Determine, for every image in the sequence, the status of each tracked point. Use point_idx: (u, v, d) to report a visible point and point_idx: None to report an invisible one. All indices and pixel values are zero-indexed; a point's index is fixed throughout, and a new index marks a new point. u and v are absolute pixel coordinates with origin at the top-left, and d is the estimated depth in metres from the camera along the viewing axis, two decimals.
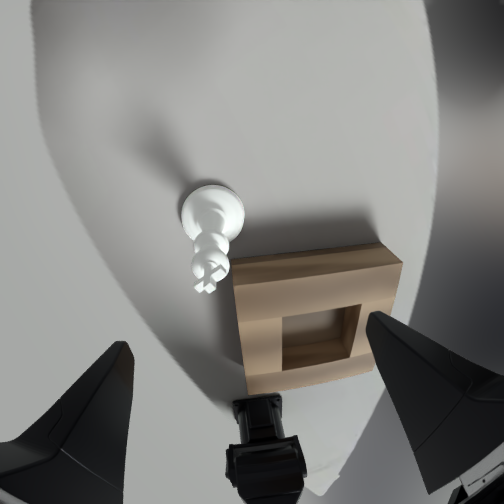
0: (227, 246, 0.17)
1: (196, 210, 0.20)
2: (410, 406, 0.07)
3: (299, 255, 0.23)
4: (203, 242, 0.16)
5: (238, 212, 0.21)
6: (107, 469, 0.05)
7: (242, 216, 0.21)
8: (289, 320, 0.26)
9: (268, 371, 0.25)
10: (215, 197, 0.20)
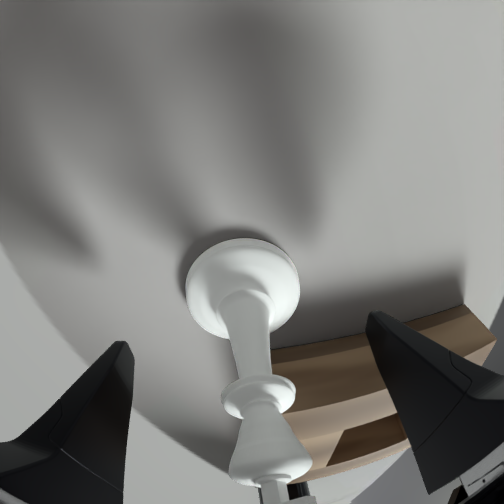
0: (293, 397, 0.07)
1: (215, 290, 0.11)
2: (410, 406, 0.07)
3: None
4: (245, 400, 0.07)
5: (292, 289, 0.11)
6: (107, 469, 0.05)
7: (297, 295, 0.12)
8: None
9: (309, 469, 0.15)
10: (252, 266, 0.11)
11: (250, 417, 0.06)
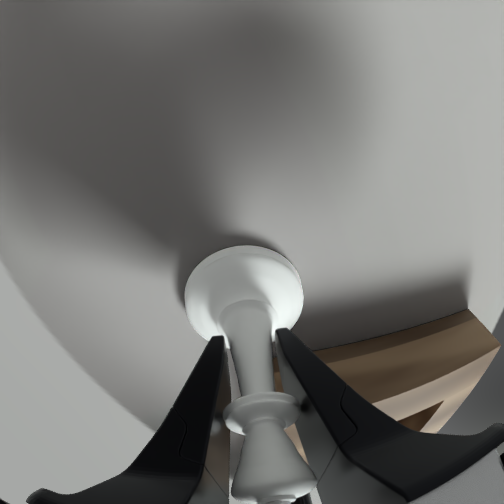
0: (297, 414, 0.07)
1: (216, 299, 0.10)
2: (306, 438, 0.07)
3: (376, 347, 0.13)
4: (247, 418, 0.06)
5: (295, 298, 0.11)
6: (224, 476, 0.06)
7: (301, 303, 0.11)
8: None
9: None
10: (254, 275, 0.10)
11: (253, 436, 0.06)
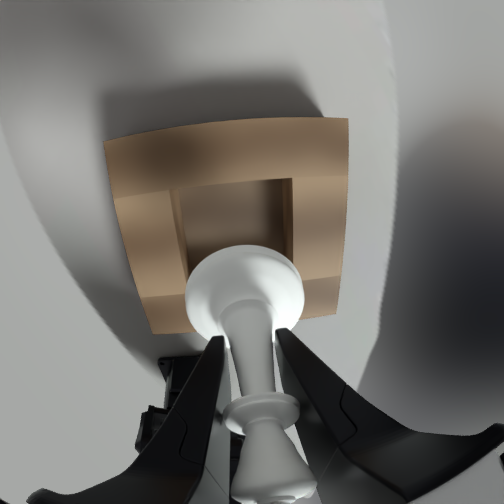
0: (298, 414, 0.07)
1: (216, 299, 0.10)
2: (305, 438, 0.07)
3: None
4: (247, 418, 0.06)
5: (296, 298, 0.11)
6: (224, 476, 0.06)
7: (302, 303, 0.11)
8: (201, 220, 0.19)
9: (169, 292, 0.18)
10: (254, 274, 0.10)
11: (253, 437, 0.06)
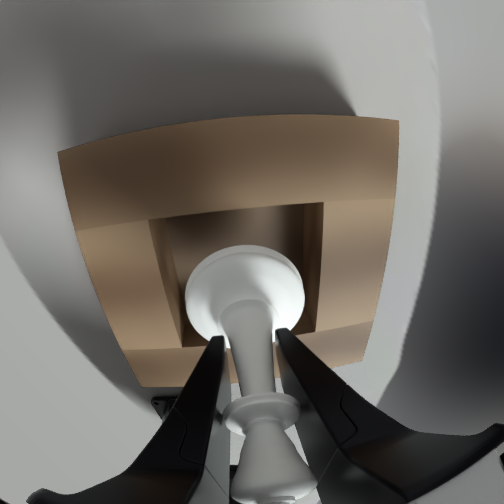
0: (298, 415, 0.07)
1: (216, 299, 0.10)
2: (305, 438, 0.07)
3: None
4: (247, 418, 0.06)
5: (296, 298, 0.11)
6: (224, 476, 0.06)
7: (302, 303, 0.11)
8: (195, 252, 0.15)
9: (157, 345, 0.13)
10: (254, 274, 0.10)
11: (253, 437, 0.06)
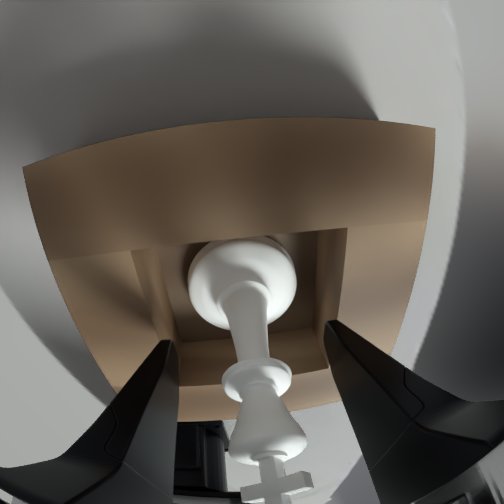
0: (289, 381, 0.08)
1: (216, 281, 0.11)
2: (363, 423, 0.07)
3: None
4: (244, 382, 0.07)
5: (289, 282, 0.12)
6: (161, 476, 0.06)
7: (294, 287, 0.12)
8: None
9: None
10: (251, 258, 0.11)
11: (249, 397, 0.07)
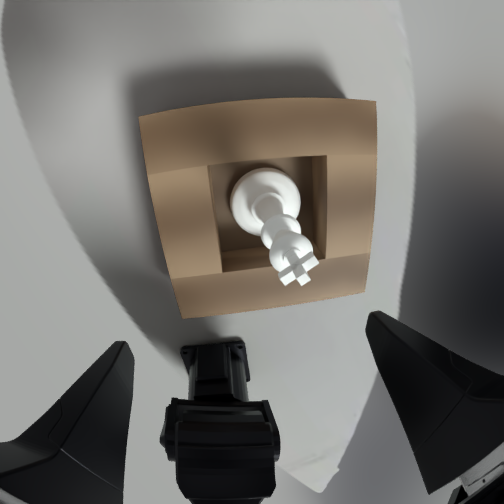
0: (300, 233, 0.15)
1: (251, 195, 0.18)
2: (410, 406, 0.07)
3: None
4: (274, 228, 0.14)
5: (295, 198, 0.19)
6: (107, 469, 0.05)
7: (299, 203, 0.19)
8: None
9: (202, 271, 0.18)
10: (272, 181, 0.18)
11: (278, 232, 0.14)
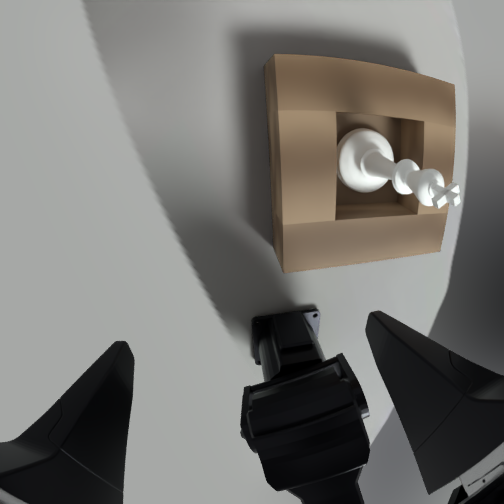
0: None
1: (358, 150, 0.17)
2: (410, 406, 0.07)
3: None
4: (405, 170, 0.13)
5: (391, 158, 0.18)
6: (107, 469, 0.05)
7: None
8: None
9: (316, 218, 0.17)
10: (375, 139, 0.17)
11: (412, 171, 0.13)
